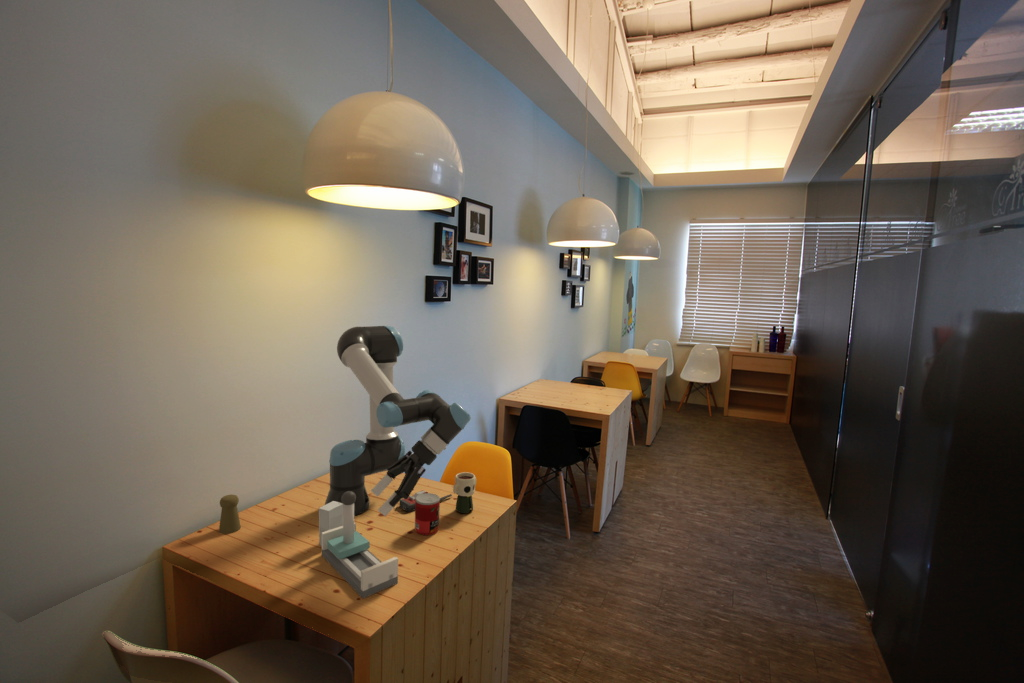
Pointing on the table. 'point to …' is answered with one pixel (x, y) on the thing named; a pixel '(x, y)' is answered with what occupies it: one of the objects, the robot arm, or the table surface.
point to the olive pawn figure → (229, 515)
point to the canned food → (427, 513)
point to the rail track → (361, 567)
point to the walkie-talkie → (410, 501)
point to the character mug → (464, 491)
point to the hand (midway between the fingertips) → (377, 503)
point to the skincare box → (330, 517)
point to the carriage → (348, 532)
